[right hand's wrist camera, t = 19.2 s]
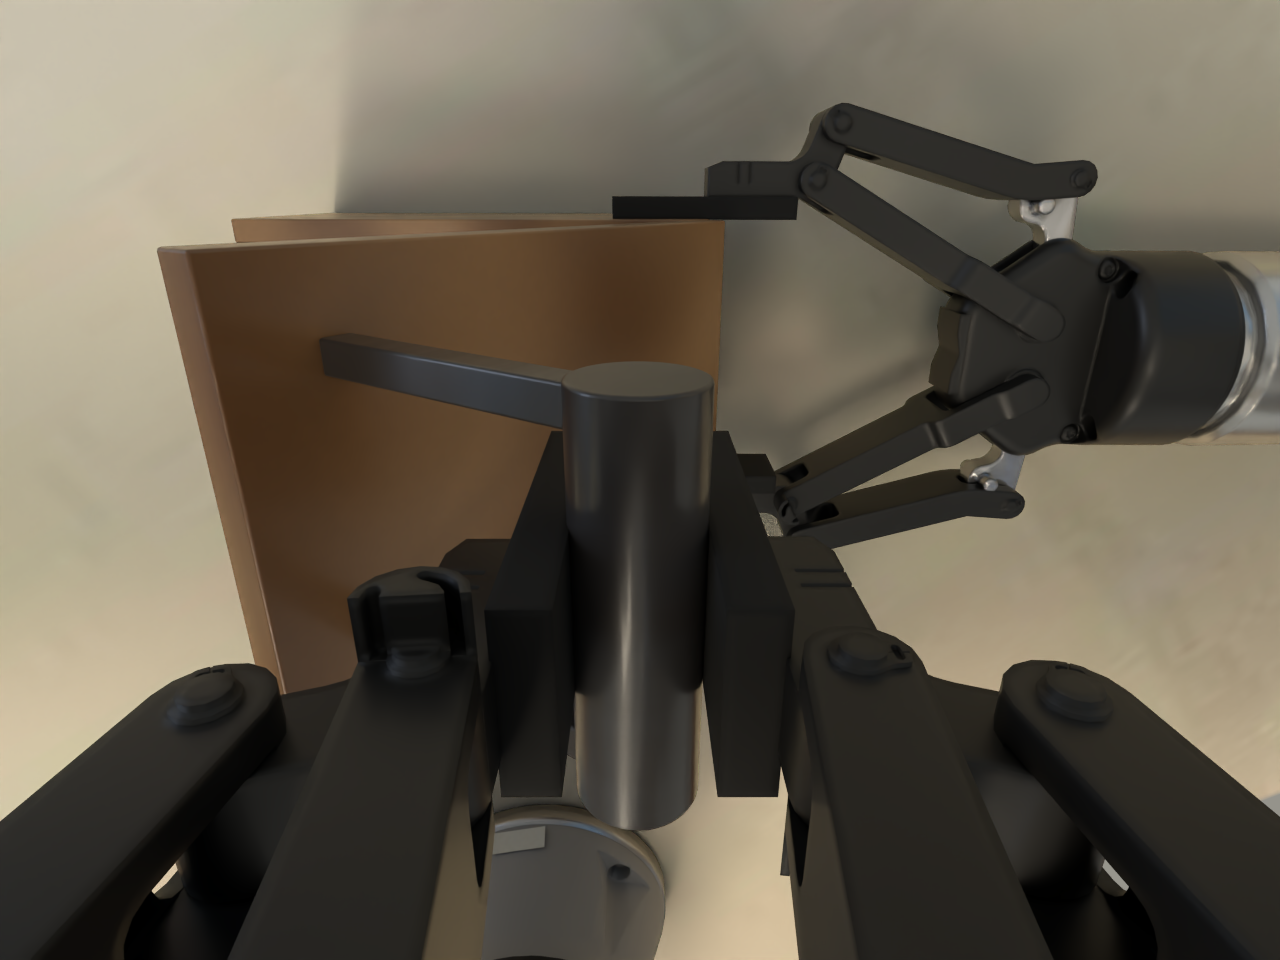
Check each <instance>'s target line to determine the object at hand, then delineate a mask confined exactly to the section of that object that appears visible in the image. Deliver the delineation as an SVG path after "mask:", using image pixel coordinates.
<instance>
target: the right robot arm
mask: <svg viewBox="0 0 1280 960" xmlns="http://www.w3.org/2000/svg"><path fill="white" fill-rule="evenodd" d="M347 602H348V608H349V614H350V620H351V625H352V631H353V637H354V642H355V648H356V654H357V660H358V663H357V666H356V668H355V670H354V672H353V675H352V677H351V678H350V679H347V680H345V681H341V682H337V683H334V684H330V685H326V686H322V687H317V688H312V689H307V690H302V691H297V692H292V693H287V694H282V695H281V694H280V690H279V685H278V681H277V677H276V676H274V675H273V674H272V673H271V672H270V671H269V670H268V669H267V668H265V667H261V666H257V665H253V664H249V663H245V664H224V665H217V666H213V667H211V668H210V667H207V668H204V669H200V670H197V671H195V672H193V673H191V674H189V675H186V676H184V677H182V678H179V679H177V680H175V681H172V682H171V683H169V684H168V685H166V686H165V687H163V688H162V689H160V690H159V691H157V692H156V693H154V694H153V695H151V696H150V697H148V698H147V699H146V700H145V701H144V702H143V703H141V704H140V705H139V706H138V707H137V708H135V709H134V710H133V711H132V712H131V713H129V714H128V715H127V716H126V717H125V718H123V719H122V720H121V721H120V722H119V723H117V724H116V725H115V726H114V727H113V728H111V729H110V730H109V731H108V732H107V733H105V734H104V735H103V736H102V737H101V738H99V739H98V740H97V741H96V742H95V743H94V744H92V745H91V746H90V747H89V748H88V749H86V750H85V751H84V752H83V753H82V754H80V755H79V756H78V757H77V758H76V759H74V760H73V761H72V762H71V763H70V764H68V765H67V766H66V767H65V768H64V769H62V770H61V771H60V772H59V773H58V774H56V775H55V776H54V777H53V778H52V779H50V780H49V781H48V782H47V783H46V784H44V785H43V786H42V787H41V788H40V789H39V790H37V791H36V792H35V793H34V794H33V795H31V796H30V797H29V798H28V799H27V800H25V801H24V802H23V803H22V804H21V805H19V806H18V807H17V808H16V809H15V810H13V811H12V812H11V813H10V814H9V815H7V816H6V817H5V818H4V819H3V820H1V821H0V960H481V957H482V947H483V938H484V929H485V919H486V910H487V900H488V891H489V882H490V872H491V863H492V853H493V844H494V835H495V823H494V813H493V803H492V793H493V789H494V785H495V781H496V777H497V773H498V769H499V776H500V787H501V797H562V790H563V783H564V775H565V767H566V759H567V752H568V744H569V736H570V729H571V721H572V713H573V705H574V698H575V671H574V646H573V621H572V596H571V572H570V547H569V529H568V527H567V525H566V501H565V476H564V451H563V431H551V433H550V436H549V439H548V441H547V444H546V447H545V449H544V452H543V455H542V457H541V460H540V463H539V465H538V468H537V471H536V473H535V476H534V478H533V481H532V484H531V486H530V489H529V492H528V494H527V497H526V500H525V502H524V505H523V508H522V510H521V513H520V516H519V518H518V521H517V524H516V526H515V529H514V532H513V534H512V537H511V539H466V540H464V541H463V542H461V543H460V544H459V545H457V546H456V547H454V548H453V549H452V550H450V551H449V552H447V553H446V554H445V556H444V557H443V559H442V561H441V563H440V565H439V567H430V566H418V567H410V568H403V569H397V570H394V571H390V572H387V573H384V574H381V575H378V576H375V577H373V578H372V579H370V580H368V581H366V582H365V583H363V584H361V585H359V586H358V587H357V588H356V589H355V590H354V591H353V592H352V593H351V594H350V595H349V597H348V598H347ZM703 687H704V694H705V702H706V710H707V718H708V725H709V733H710V741H711V749H712V756H713V764H714V772H715V780H716V787H717V795H718V797H778V791H779V780H780V769H781V768H782V772H783V776H784V780H785V784H786V788H787V792H788V803H787V813H786V823H785V833H784V843H783V853H782V863H781V873H780V875H783V876H790V880H791V890H792V899H793V908H794V918H795V927H796V936H797V946H798V955H799V960H1280V817H1279V816H1278V815H1277V814H1276V813H1275V812H1273V811H1272V810H1271V809H1270V808H1268V807H1267V806H1266V805H1265V804H1264V803H1263V802H1261V801H1260V800H1259V799H1258V798H1257V797H1255V796H1254V795H1253V794H1252V793H1250V792H1249V791H1248V790H1247V789H1246V788H1244V787H1243V786H1242V785H1241V784H1240V783H1238V782H1237V781H1236V780H1235V779H1234V778H1232V777H1231V776H1230V775H1229V774H1228V773H1226V772H1225V771H1224V770H1223V769H1222V768H1220V767H1219V766H1218V765H1217V764H1216V763H1214V762H1213V761H1212V760H1211V759H1210V758H1208V757H1207V756H1206V755H1205V754H1203V753H1202V752H1201V751H1200V750H1199V749H1197V748H1196V747H1195V746H1194V745H1193V744H1191V743H1190V742H1189V741H1188V740H1187V739H1185V738H1184V737H1183V736H1182V735H1181V734H1179V733H1178V732H1177V731H1176V730H1175V729H1173V728H1172V727H1171V726H1170V725H1169V724H1167V723H1166V722H1165V721H1164V720H1162V719H1161V718H1160V717H1159V716H1158V715H1156V714H1155V713H1154V712H1153V711H1152V710H1150V709H1149V708H1148V707H1147V706H1146V705H1144V704H1143V703H1142V702H1141V701H1140V700H1138V699H1137V698H1136V697H1135V696H1134V695H1132V694H1131V693H1130V692H1128V691H1127V690H1125V689H1124V688H1122V687H1121V686H1119V685H1118V684H1116V683H1115V682H1113V681H1112V680H1110V679H1109V678H1107V677H1104V676H1102V675H1099V674H1097V673H1095V672H1092V671H1090V670H1088V669H1086V668H1084V667H1081V666H1078V665H1074V664H1071V663H1070V664H1067V663H1066V662H1059V661H1045V660H1030V661H1026V662H1022V663H1018V664H1014V665H1012V666H1011V667H1010V668H1009V669H1008V670H1007V671H1006V672H1005V673H1004V674H1003V678H1002V682H1001V686H1000V691H999V692H998V691H993V690H988V689H983V688H978V687H973V686H968V685H963V684H958V683H954V682H950V681H946V680H943V679H939V678H935V677H933V676H930V675H928V674H927V671H926V669H925V667H924V665H923V662H922V661H921V659H920V658H919V657H918V655H917V654H916V653H915V651H914V650H913V649H912V648H911V647H910V646H908V645H907V644H905V643H904V642H902V641H901V640H899V639H898V638H896V637H894V636H892V635H889V634H886V633H884V632H881V631H878V630H877V629H876V627H875V625H874V623H873V621H872V620H871V618H870V616H869V614H868V612H867V610H866V609H865V607H864V605H863V603H862V601H861V600H860V598H859V596H858V594H857V592H856V590H855V589H854V587H852V583H851V581H850V579H849V578H848V576H847V574H846V572H844V568H843V567H842V565H841V563H840V561H839V559H838V557H837V556H836V554H835V552H834V551H833V550H832V549H830V548H829V547H827V546H826V545H824V544H823V543H822V542H820V541H819V540H817V539H816V538H815V537H813V536H767V533H766V531H765V528H764V525H763V523H762V520H761V517H760V515H759V512H758V509H757V507H756V504H755V501H754V499H753V496H752V493H751V491H750V488H749V485H748V483H747V480H746V477H745V475H744V472H743V469H742V467H741V464H740V461H739V459H738V456H737V453H736V451H735V448H734V445H733V443H732V440H731V437H730V435H729V432H728V431H713V440H712V464H711V488H710V512H709V535H708V559H707V583H706V608H705V632H704V656H703ZM1105 859H1106V861H1107V862H1108V863H1109V864H1110V865H1111V866H1112V867H1113V869H1114V870H1115V871H1116V872H1117V873H1118V874H1119V876H1120V877H1121V878H1122V879H1123V880H1124V881H1125V882H1126V884H1127V885H1128V886H1129V888H1128V890H1127V891H1125V890H1123V889H1122V888H1121V887H1120V886H1119V885H1118V884H1117V883H1116V882H1115V881H1114V880H1113V879H1112V878H1111V877H1110V876H1109V874H1108V873H1107V872H1106V871H1105V870H1104V869H1103V867H1102V866H1103V863H1104V860H1105ZM175 863H176V866H177V869H178V871H177V872H176V873H175V874H174V875H173V876H172V878H171V879H170V880H169V881H168V882H167V884H165V885H164V886H163V887H162V888H161V889H160V890H158V891H157V892H156V893H155V894H154V893H153V892H152V889H153V888H154V887H155V886H156V885H157V883H158V882H159V881H160V880H161V879H162V878H163V876H164V875H165V874H166V873H167V872H168V871H169V869H170V868H171V867H172V866H173V865H174V864H175Z"/></svg>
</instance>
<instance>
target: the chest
mask: <svg viewBox="0 0 1280 960" xmlns="http://www.w3.org/2000/svg"><path fill="white" fill-rule="evenodd" d="M689 220H709V219H613V214H580V213H324V214H307V215H290V216H273V217H257V218H240V219H232V220H231V221H232V226H233V231H234V236H235V241H236V242H237V243H247V242H267V241H287V240H307V239H327V238H347V237H367V236H387V235H407V234H428V233H448V232H468V231H488V230H508V229H528V228H548V227H568V226H589V225H609V224H629V223H649V222H669V221H689Z"/></svg>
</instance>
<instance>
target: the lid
mask: <svg viewBox="0 0 1280 960" xmlns="http://www.w3.org/2000/svg"><path fill="white" fill-rule="evenodd" d="M724 231H725V221H723V220H689V221H669V222H649V223H629V224H609V225H589V226H568V227H548V228H528V229H508V230H488V231H468V232H448V233H428V234H407V235H387V236H367V237H347V238H327V239H307V240H287V241H267V242H247V243H226V244H206V245H186V246H166V247H159V248H158V249H157V253H158V257H159V261H160V266H161V270H162V274H163V278H164V282H165V287H166V291H167V295H168V299H169V303H170V308H171V312H172V316H173V320H174V324H175V329H176V333H177V337H178V341H179V345H180V350H181V354H182V358H183V362H184V366H185V371H186V375H187V379H188V383H189V387H190V392H191V396H192V400H193V404H194V409H195V413H196V417H197V421H198V425H199V430H200V434H201V438H202V442H203V446H204V451H205V455H206V459H207V463H208V467H209V472H210V476H211V480H212V484H213V488H214V493H215V497H216V501H217V505H218V509H219V514H220V518H221V522H222V526H223V530H224V535H225V539H226V543H227V547H228V551H229V556H230V560H231V564H232V568H233V572H234V577H235V581H236V585H237V589H238V593H239V598H240V602H241V606H242V610H243V614H244V619H245V623H246V627H247V631H248V635H249V640H250V644H251V648H252V652H253V656H254V661H255V665H257V666H261V667H265V668H267V669H268V670H269V671H270V672H271V673H272V674H273V675H274V676H276V677H277V681H278V685H279V690H280V694H281V695H282V694H287V693H292V692H297V691H302V690H307V689H312V688H317V687H322V686H326V685H330V684H334V683H337V682H341V681H345V680H347V679H350V678H351V677H352V675H353V672H354V670H355V668H356V666H357V663H358V660H357V654H356V648H355V642H354V637H353V631H352V625H351V620H350V614H349V608H348V602H347V598H348V597H349V595H350V594H351V593H352V592H353V591H354V590H355V589H356V588H357V587H358V586H359V585H361V584H363V583H365V582H366V581H368V580H370V579H372V578H373V577H375V576H378V575H381V574H384V573H387V572H390V571H394V570H397V569H403V568H410V567H418V566H430V567H439V565H440V563H441V561H442V559H443V557H444V556H445V554H446V553H447V552H449V551H450V550H452V549H453V548H454V547H456V546H457V545H459V544H460V543H461V542H463V541H464V540H466V539H511V537H512V534H513V532H514V529H515V526H516V524H517V521H518V518H519V516H520V513H521V510H522V508H523V505H524V502H525V500H526V497H527V494H528V492H529V489H530V486H531V484H532V481H533V478H534V476H535V473H536V471H537V468H538V465H539V463H540V460H541V457H542V455H543V452H544V449H545V447H546V444H547V441H548V439H549V436H550V433H551V431H563V451H564V476H565V501H566V525H567V527H568V529H569V547H570V572H571V596H572V621H573V646H574V671H575V698H574V705H573V713H572V721H571V729H570V736H569V744H568V752H567V755H568V756H570V757H572V758H574V759H576V775H577V790H578V794H579V797H580V799H581V801H582V803H583V804H584V806H585V807H586V809H587V810H588V811H589V812H590V813H591V814H592V815H593V816H594V817H596V818H597V819H599V820H600V821H602V822H604V823H606V824H608V825H610V826H613V827H616V828H620V829H624V830H632V831H642V830H651V829H655V828H659V827H662V826H665V825H667V824H669V823H671V822H673V821H675V820H676V819H678V818H679V817H680V816H682V815H683V814H684V813H685V812H686V811H687V810H688V809H689V807H690V806H691V804H692V803H693V801H694V799H695V797H696V794H697V790H698V776H699V752H700V728H701V704H702V680H703V656H704V632H705V608H706V583H707V559H708V535H709V512H710V488H711V464H712V440H713V431H716V416H717V393H718V370H719V346H720V323H721V300H722V277H723V254H724Z"/></svg>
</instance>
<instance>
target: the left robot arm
mask: <svg viewBox="0 0 1280 960" xmlns="http://www.w3.org/2000/svg"><path fill="white" fill-rule="evenodd" d="M844 154H846V155H849V156H852V157H856V158H859V159H862V160H865V161H868V162H871V163H874V164H877V165H881V166H884V167H887V168H890V169H893V170H896V171H899V172H902V173H906V174H909V175H912V176H915V177H918V178H921V179H924V180H927V181H931V182H934V183H937V184H940V185H943V186H946V187H949V188H952V189H956V190H959V191H962V192H965V193H968V194H971V195H974V196H978V197H982V198H986V199H995V200H1009V202H1008V205H1007V206H1008V212H1009V214H1010V216H1011V218H1012V219H1013V220H1015V221H1017V222H1022V223H1025V224H1027V225H1029V227H1030V228H1031V229H1032V232H1033V240H1031V241H1029V242H1028V243H1026V244H1024V245H1023V246H1021V247H1020V248H1018V249H1017V250H1015V251H1014V252H1012V253H1011V254H1009V255H1008V256H1006V257H1005V258H1003V259H1002V260H1000V261H999V262H997V263H996V264H994V265H993V266H991V267H989V266H988V265H986V264H985V263H983V262H981V261H979V260H977V259H975V258H973V257H971V256H969V255H967V254H965V253H964V252H962V251H961V250H959V249H958V248H956V247H954V246H953V245H951V244H950V243H948V242H947V241H945V240H944V239H942V238H941V237H939V236H938V235H936V234H935V233H933V232H932V231H930V230H928V229H927V228H925V227H924V226H922V225H921V224H919V223H918V222H916V221H915V220H913V219H912V218H910V217H909V216H907V215H906V214H904V213H903V212H901V211H899V210H898V209H896V208H895V207H893V206H892V205H890V204H889V203H887V202H886V201H884V200H883V199H881V198H880V197H878V196H877V195H875V194H873V193H872V192H870V191H869V190H867V189H866V188H864V187H863V186H861V185H860V184H858V183H857V182H855V181H854V180H852V179H851V178H849V177H847V176H846V175H844V174H843V173H841V172H840V171H838V170H837V169H838V167H839V165H840V163H841V160H842V158H843V156H844ZM1097 178H1098V174H1097V169H1096V167H1095V165H1094V164H1093V163H1091V162H1090V161H1085V160H1079V161H1066V162H1054V163H1041V164H1032V163H1029V162H1026V161H1023V160H1020V159H1017V158H1014V157H1011V156H1008V155H1005V154H1002V153H999V152H996V151H993V150H989V149H986V148H983V147H980V146H977V145H974V144H971V143H968V142H965V141H962V140H959V139H956V138H953V137H950V136H947V135H944V134H941V133H938V132H935V131H931V130H928V129H925V128H922V127H919V126H916V125H913V124H910V123H907V122H904V121H901V120H898V119H895V118H892V117H889V116H886V115H883V114H880V113H877V112H874V111H870V110H867V109H864V108H861V107H858V106H855V105H852V104H849V103H840V104H838V105H835V106H833V107H830V108H828V109H826V110H824V111H822V112H820V113H818V114H817V115H816V116H815V117H814V118H813V119H812V121H811V123H810V128H809V134H808V136H807V139H806V141H805V144H804V146H803V148H802V150H801V152H800V153H799V155H798V156H797V157H796V158H794V159H793V160H792V161H789V162H774V161H722V162H720V163H718V164H715V165H713V166H711V167H708V168H706V169H705V182H704V197H668V196H612V209H613V219H709V220H796V219H797V207H798V199H800V200H801V201H803V202H804V203H806V204H808V205H809V206H811V207H812V208H814V209H815V210H817V211H819V212H820V213H822V214H823V215H825V216H826V217H828V218H830V219H831V220H833V221H834V222H836V223H837V224H839V225H841V226H842V227H844V228H845V229H847V230H848V231H850V232H851V233H853V234H855V235H856V236H858V237H859V238H861V239H862V240H864V241H866V242H867V243H869V244H870V245H872V246H873V247H875V248H877V249H878V250H880V251H881V252H883V253H884V254H886V255H888V256H889V257H891V258H892V259H894V260H895V261H897V262H899V263H900V264H902V265H903V266H905V267H906V268H908V269H910V270H911V271H913V272H914V273H916V274H917V275H919V276H920V277H922V278H923V279H924V280H925V281H926V282H928V283H929V284H931V285H932V286H934V287H935V288H937V289H938V290H940V291H942V292H943V293H945V294H946V295H948V296H949V297H951V298H950V299H949V301H948V302H947V304H946V307H940V311H939V317H938V324H937V328H938V337H939V347H938V349H937V352H936V354H935V356H934V359H933V361H932V363H931V369H930V376H929V383H931V384H932V385H933V386H932V387H930V388H928V389H926V390H924V391H922V392H920V393H918V394H916V395H914V396H913V397H911V398H909V399H908V400H907V401H906V403H905V405H904V406H903V407H901V408H899V409H897V410H895V411H893V412H891V413H889V414H887V415H885V416H883V417H881V418H879V419H877V420H875V421H873V422H871V423H869V424H867V425H865V426H863V427H861V428H859V429H857V430H855V431H853V432H851V433H849V434H847V435H845V436H843V437H841V438H840V439H838V440H836V441H834V442H832V443H830V444H828V445H826V446H824V447H822V448H820V449H818V450H816V451H814V452H812V453H810V454H808V455H806V456H804V457H802V458H800V459H798V460H796V461H794V462H792V463H790V464H788V465H786V466H784V467H782V468H780V469H778V470H776V471H774V470H773V468H772V466H771V464H770V462H769V460H768V458H767V456H766V454H737V456H738V459H739V461H740V464H741V467H742V469H743V472H744V475H745V477H746V480H747V483H748V485H749V488H750V491H751V493H752V496H753V499H754V501H755V504H756V507H757V509H758V512H759V513H769V514H772V515H773V516H775V517H776V518H777V521H778V524H779V527H780V529H781V532H782V534H783V536H813V537H815V538H816V539H817V540H819V541H820V542H822V543H823V544H824V545H826V546H827V547H829V548H830V549H833V548H837V547H841V546H845V545H849V544H853V543H858V542H862V541H866V540H870V539H874V538H878V537H882V536H886V535H891V534H895V533H899V532H903V531H907V530H911V529H915V528H920V527H924V526H928V525H932V524H936V523H940V522H944V521H948V520H953V519H957V518H961V517H965V516H974V517H988V518H1002V519H1009V518H1014V517H1016V516H1018V515H1019V514H1020V513H1021V512H1022V510H1023V508H1024V506H1025V501H1024V498H1023V497H1022V496H1021V495H1020V494H1019V493H1018V492H1016V491H1015V488H1016V484H1017V481H1018V477H1019V474H1020V471H1021V467H1022V464H1023V461H1024V457H1025V455H1028V454H1031V453H1034V452H1036V451H1038V450H1040V449H1042V448H1045V447H1047V446H1051V445H1055V444H1078V445H1164V444H1171V443H1177V444H1184V445H1253V444H1280V251H1217V252H1205V253H1202V254H1200V253H1197V252H1192V251H1092V250H1089V249H1087V248H1085V247H1084V246H1082V245H1081V244H1080V243H1078V242H1076V241H1074V240H1072V237H1073V230H1074V223H1075V216H1076V209H1077V202H1078V197H1081V196H1084V195H1086V194H1087V193H1089V192H1090V191H1091V190H1092V189H1093V187H1094V186H1095V184H1096V181H1097ZM978 433H979V434H980V435H982V436H983V437H984V438H985V439H987V440H988V441H989V442H990V443H992V447H991V449H990V451H989V452H988V453H987V454H986V455H985V456H983V457H980V458H976V459H971V460H964V461H963V462H962V463H961V465H960V469H948V470H939V471H934V472H929V473H925V474H921V475H917V476H913V477H909V478H905V479H901V480H897V481H893V482H889V483H885V484H881V485H877V486H873V487H869V488H865V489H861V490H857V491H853V492H849V493H845V494H842V493H844V492H846V491H848V490H850V489H852V488H854V487H856V486H858V485H860V484H863V483H865V482H867V481H869V480H871V479H873V478H875V477H877V476H879V475H881V474H883V473H885V472H887V471H889V470H891V469H893V468H895V467H897V466H899V465H901V464H903V463H905V462H908V461H910V460H912V459H914V458H916V457H918V456H920V455H922V454H924V453H926V452H928V451H930V450H932V449H935V448H947V447H951V446H953V445H956V444H958V443H960V442H962V441H964V440H966V439H968V438H970V437H972V436H974V435H976V434H978ZM840 494H841V495H840ZM494 823H495V835H494V844H493V853H492V863H491V872H490V882H489V891H488V900H487V910H486V919H485V929H484V938H483V947H482V957H481V960H654V957H655V954H656V951H657V947H658V944H659V941H660V937H661V934H662V929H663V923H664V918H665V891H664V879H663V874H662V871H661V868H660V865H659V863H658V861H657V859H656V857H655V856H654V854H653V853H652V851H651V850H650V849H649V847H648V846H647V845H646V844H645V843H644V842H643V841H642V840H641V839H640V838H639V837H638V836H637V835H636V834H635V833H633V832H632V831H631V830H624V829H620V828H616V827H613V826H610V825H608V824H606V823H604V822H602V821H600V820H599V819H597V818H596V817H594V816H593V815H592V814H591V813H590V812H589V811H588V810H585V809H581V808H576V807H571V806H562V805H531V806H522V807H517V808H512V809H509V810H505V811H501V812H499V813H496V814H494Z"/></svg>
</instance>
